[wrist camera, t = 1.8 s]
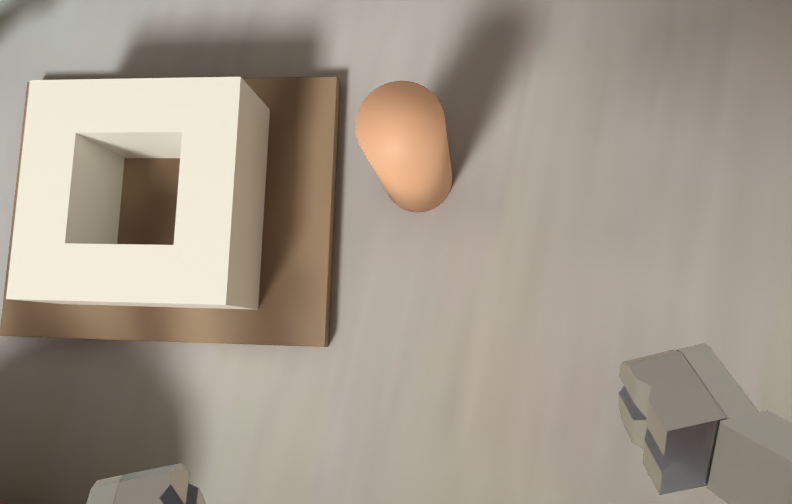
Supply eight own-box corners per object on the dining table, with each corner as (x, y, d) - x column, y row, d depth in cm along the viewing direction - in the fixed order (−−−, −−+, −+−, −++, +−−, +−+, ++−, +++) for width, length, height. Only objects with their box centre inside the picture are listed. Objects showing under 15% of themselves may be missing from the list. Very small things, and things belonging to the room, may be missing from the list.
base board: (340, 83, 40) (336, 76, 39) (328, 346, 38) (324, 346, 37) (37, 87, 43) (27, 81, 42) (11, 335, 40) (-1, 335, 39)
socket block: (269, 109, 39) (240, 76, 34) (258, 309, 38) (225, 304, 33) (83, 111, 41) (29, 80, 36) (64, 304, 39) (6, 299, 34)
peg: (453, 146, 39) (446, 80, 29) (451, 212, 38) (444, 168, 28) (386, 146, 39) (357, 81, 29) (384, 211, 39) (353, 168, 29)
